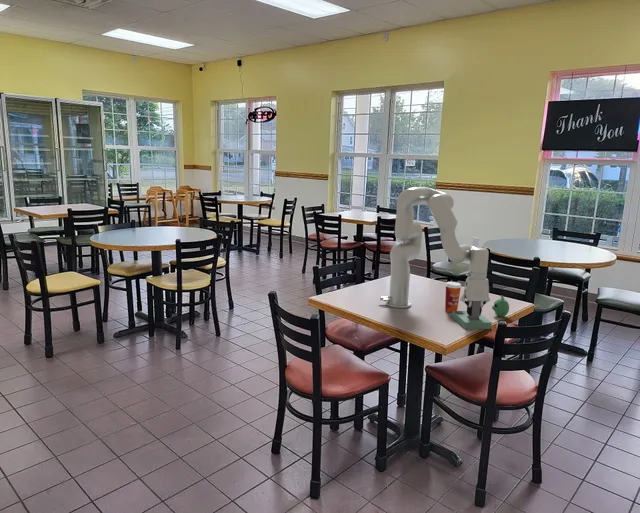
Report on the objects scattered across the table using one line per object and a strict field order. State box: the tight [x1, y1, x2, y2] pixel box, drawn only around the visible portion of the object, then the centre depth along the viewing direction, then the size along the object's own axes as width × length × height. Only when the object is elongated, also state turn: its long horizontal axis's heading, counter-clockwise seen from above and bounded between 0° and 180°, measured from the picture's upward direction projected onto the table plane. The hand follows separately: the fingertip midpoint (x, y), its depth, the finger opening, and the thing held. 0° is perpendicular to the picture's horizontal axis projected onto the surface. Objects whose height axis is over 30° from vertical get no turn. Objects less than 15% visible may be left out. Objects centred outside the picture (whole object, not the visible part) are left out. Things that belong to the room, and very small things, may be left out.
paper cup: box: [444, 281, 462, 314], centre depth 232 cm, size 8×8×14 cm
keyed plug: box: [468, 301, 481, 320], centre depth 215 cm, size 4×5×10 cm
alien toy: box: [491, 295, 510, 318], centre depth 227 cm, size 7×8×10 cm
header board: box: [451, 310, 493, 330], centre depth 217 cm, size 12×16×3 cm
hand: (473, 314), depth 214 cm, fingers closed on keyed plug, 3 cm apart
